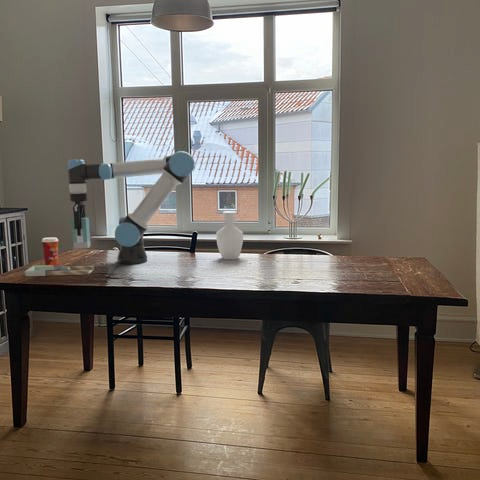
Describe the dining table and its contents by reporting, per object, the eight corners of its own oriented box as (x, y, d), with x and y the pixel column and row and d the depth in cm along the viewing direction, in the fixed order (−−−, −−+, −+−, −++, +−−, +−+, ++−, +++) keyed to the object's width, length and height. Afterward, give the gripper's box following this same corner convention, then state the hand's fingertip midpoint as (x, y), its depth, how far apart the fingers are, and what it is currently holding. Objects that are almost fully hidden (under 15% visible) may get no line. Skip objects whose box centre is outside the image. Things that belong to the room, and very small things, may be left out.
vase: (248, 257, 244) (248, 211, 240) (233, 261, 232) (233, 213, 228) (226, 254, 251) (226, 210, 247) (211, 259, 239) (210, 212, 236)
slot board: (94, 270, 211) (93, 265, 211) (88, 276, 200) (88, 270, 200) (54, 271, 209) (54, 266, 209) (46, 277, 198) (46, 271, 198)
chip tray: (53, 271, 210) (53, 265, 209) (45, 277, 198) (44, 270, 197) (34, 271, 209) (34, 265, 208) (25, 277, 197) (24, 271, 197)
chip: (64, 270, 208) (64, 265, 208) (62, 272, 204) (61, 267, 204) (55, 270, 208) (55, 265, 207) (52, 272, 204) (52, 267, 203)
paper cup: (54, 268, 217) (52, 239, 215) (39, 267, 218) (37, 239, 216) (63, 265, 225) (61, 237, 222) (49, 264, 226) (47, 236, 224)
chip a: (71, 272, 205) (70, 266, 204) (68, 274, 201) (68, 268, 200) (62, 272, 204) (61, 267, 204) (59, 274, 200) (59, 268, 200)
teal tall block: (90, 246, 219) (88, 217, 217) (87, 248, 213) (85, 218, 211) (76, 246, 218) (74, 217, 216) (73, 248, 212) (71, 219, 210)
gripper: (75, 192, 221) (78, 238, 224) (64, 194, 202) (68, 244, 206) (90, 191, 222) (94, 238, 225) (81, 193, 203) (85, 244, 206)
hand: (81, 241), depth 215 cm, fingers closed on teal tall block, 6 cm apart
